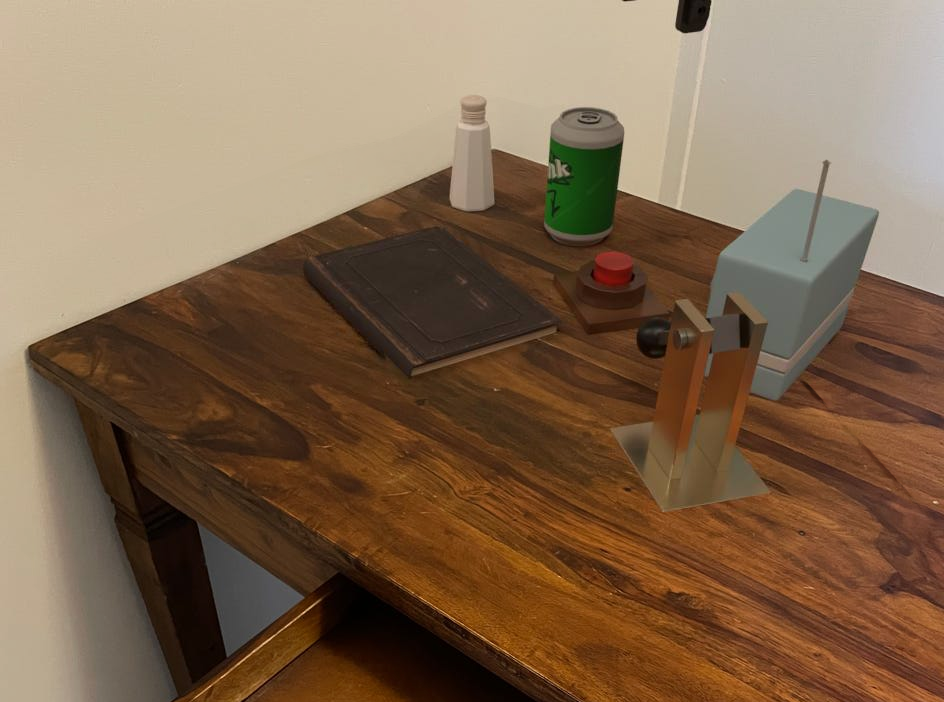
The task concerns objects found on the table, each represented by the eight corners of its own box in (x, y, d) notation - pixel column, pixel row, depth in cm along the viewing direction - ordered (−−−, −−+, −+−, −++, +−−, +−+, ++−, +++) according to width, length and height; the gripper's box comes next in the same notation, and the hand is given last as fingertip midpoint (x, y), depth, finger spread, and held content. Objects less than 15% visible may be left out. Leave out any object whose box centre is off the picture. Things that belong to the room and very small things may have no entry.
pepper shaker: (504, 206, 109) (508, 101, 101) (463, 216, 107) (464, 110, 99) (480, 189, 112) (482, 86, 104) (440, 198, 110) (439, 94, 102)
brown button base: (552, 294, 95) (555, 255, 92) (626, 285, 97) (631, 246, 94) (586, 345, 89) (591, 305, 86) (665, 334, 90) (672, 294, 87)
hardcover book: (440, 245, 102) (440, 224, 100) (560, 343, 89) (562, 320, 87) (304, 280, 97) (301, 258, 95) (409, 389, 83) (409, 366, 82)
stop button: (587, 271, 91) (589, 253, 89) (622, 267, 91) (625, 249, 90) (601, 289, 88) (603, 271, 87) (636, 284, 89) (639, 266, 88)
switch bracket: (607, 439, 79) (630, 281, 68) (707, 424, 80) (744, 267, 70) (660, 523, 71) (694, 360, 61) (768, 504, 73) (819, 342, 63)
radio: (752, 307, 94) (807, 84, 79) (840, 335, 90) (915, 107, 76) (679, 379, 85) (727, 142, 70) (774, 412, 81) (844, 171, 67)
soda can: (615, 224, 106) (630, 107, 97) (606, 254, 101) (621, 134, 92) (549, 217, 107) (557, 101, 98) (537, 246, 102) (545, 127, 93)
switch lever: (631, 361, 78) (628, 320, 77) (667, 356, 79) (665, 315, 78) (705, 360, 66) (703, 312, 65) (747, 354, 66) (745, 306, 65)
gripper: (593, -296, 62) (570, -5, 74) (714, -279, 53) (666, 48, 65) (690, -297, 64) (652, -14, 76) (822, -281, 55) (756, 36, 67)
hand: (659, 14), depth 71 cm, fingers open, 8 cm apart
